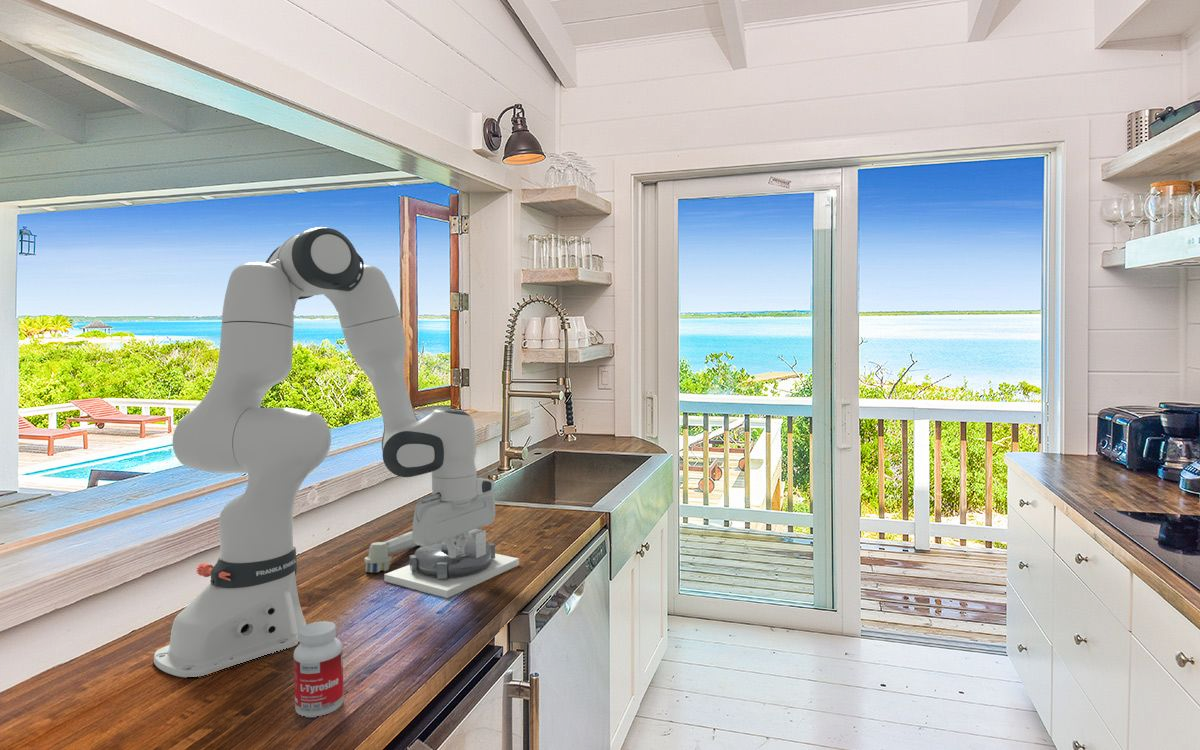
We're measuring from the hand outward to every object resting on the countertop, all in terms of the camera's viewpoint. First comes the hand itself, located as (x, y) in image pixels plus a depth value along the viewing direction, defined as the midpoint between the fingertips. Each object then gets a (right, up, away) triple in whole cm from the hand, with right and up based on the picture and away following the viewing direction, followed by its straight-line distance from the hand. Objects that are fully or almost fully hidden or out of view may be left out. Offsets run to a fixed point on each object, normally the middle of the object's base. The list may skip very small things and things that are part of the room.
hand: (456, 555), depth 136 cm
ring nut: (-3, -4, +9) cm, 10 cm away
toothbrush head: (-17, -6, +21) cm, 28 cm away
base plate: (-2, -6, +9) cm, 11 cm away
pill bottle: (-9, -9, -44) cm, 46 cm away
